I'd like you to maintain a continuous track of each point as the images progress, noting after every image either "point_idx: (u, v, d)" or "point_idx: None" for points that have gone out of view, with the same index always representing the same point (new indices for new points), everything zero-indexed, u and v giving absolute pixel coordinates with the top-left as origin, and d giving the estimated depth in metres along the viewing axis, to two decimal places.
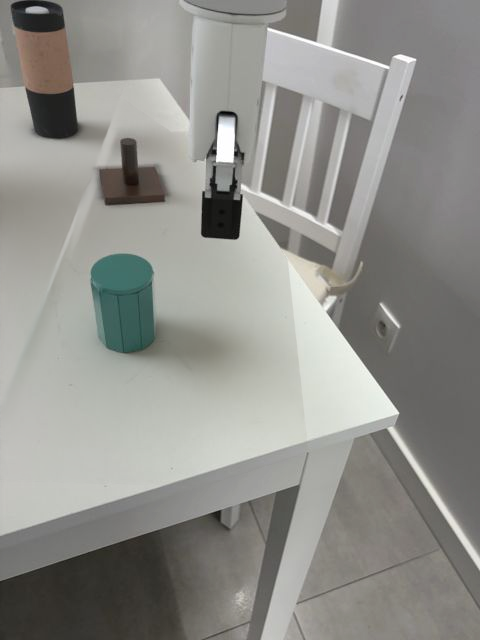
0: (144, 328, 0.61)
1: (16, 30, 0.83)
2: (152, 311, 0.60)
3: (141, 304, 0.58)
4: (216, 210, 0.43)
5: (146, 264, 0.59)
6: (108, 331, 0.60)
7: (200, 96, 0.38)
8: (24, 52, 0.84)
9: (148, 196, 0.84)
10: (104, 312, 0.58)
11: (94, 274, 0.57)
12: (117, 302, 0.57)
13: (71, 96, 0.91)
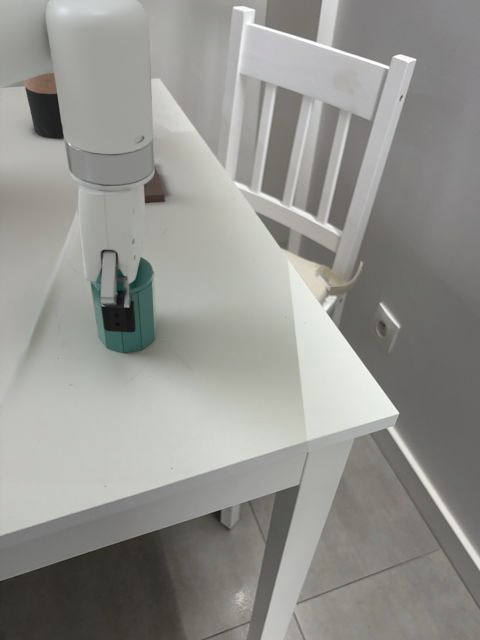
0: (144, 328, 0.61)
1: None
2: (152, 311, 0.60)
3: (141, 304, 0.58)
4: (112, 314, 0.56)
5: (146, 264, 0.59)
6: (108, 331, 0.60)
7: (86, 240, 0.49)
8: None
9: (148, 196, 0.84)
10: None
11: None
12: None
13: None
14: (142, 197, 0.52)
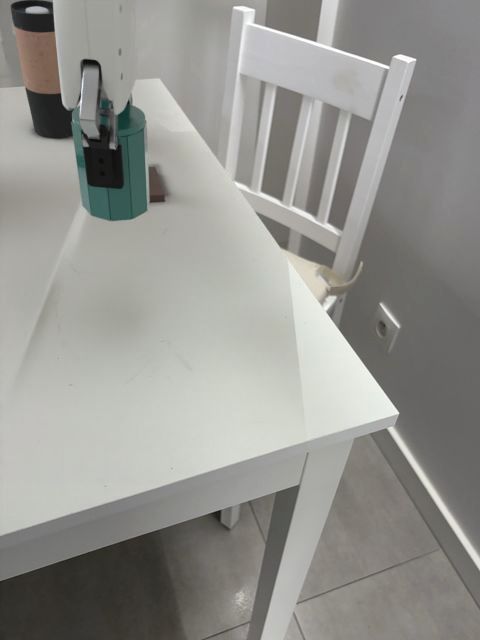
0: (134, 190, 0.52)
1: (16, 30, 0.83)
2: (144, 170, 0.52)
3: (131, 154, 0.50)
4: (95, 159, 0.47)
5: (138, 111, 0.51)
6: (92, 191, 0.52)
7: (62, 44, 0.41)
8: (24, 52, 0.84)
9: None
10: None
11: (76, 115, 0.48)
12: None
13: None
14: (132, 6, 0.44)
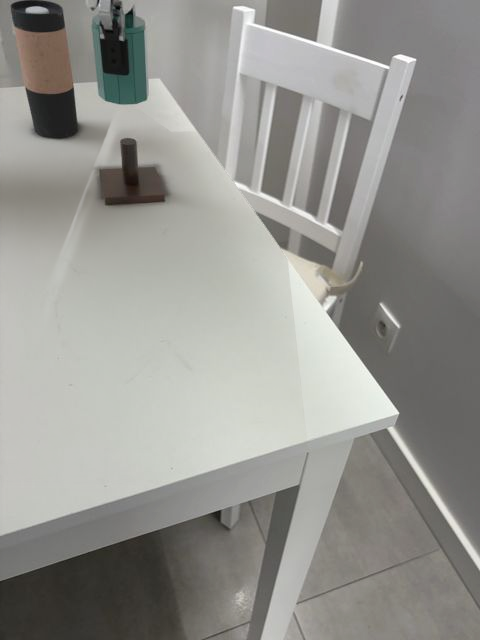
0: (137, 79, 0.71)
1: (16, 30, 0.83)
2: (144, 64, 0.70)
3: (135, 49, 0.68)
4: (109, 49, 0.66)
5: (140, 19, 0.69)
6: (106, 79, 0.70)
7: None
8: (24, 52, 0.84)
9: (148, 196, 0.84)
10: None
11: (95, 19, 0.67)
12: None
13: (71, 96, 0.91)
14: None
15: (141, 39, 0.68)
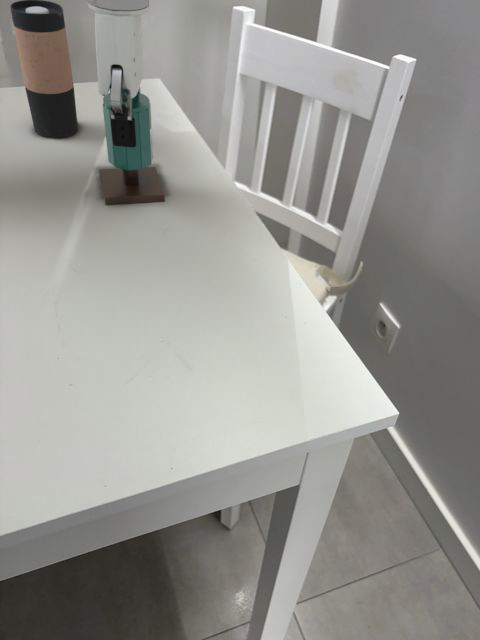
0: (143, 149, 0.80)
1: (16, 30, 0.83)
2: (149, 135, 0.80)
3: (141, 124, 0.77)
4: (118, 127, 0.75)
5: (145, 96, 0.79)
6: (116, 149, 0.79)
7: (100, 56, 0.69)
8: (24, 52, 0.84)
9: (148, 196, 0.84)
10: None
11: (105, 100, 0.76)
12: None
13: (71, 96, 0.91)
14: (140, 32, 0.71)
15: (146, 115, 0.77)
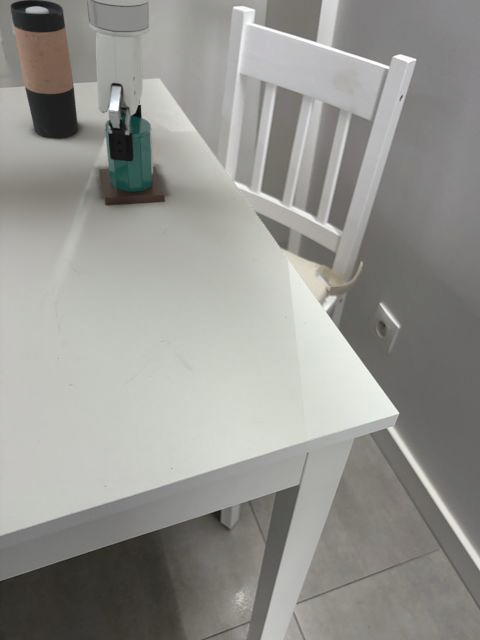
0: (144, 171, 0.83)
1: (16, 30, 0.83)
2: (150, 159, 0.82)
3: (142, 149, 0.80)
4: (116, 141, 0.75)
5: (146, 122, 0.81)
6: (118, 172, 0.82)
7: (101, 74, 0.70)
8: (24, 52, 0.84)
9: (148, 196, 0.84)
10: None
11: None
12: None
13: (71, 96, 0.91)
14: (140, 51, 0.73)
15: (147, 140, 0.80)
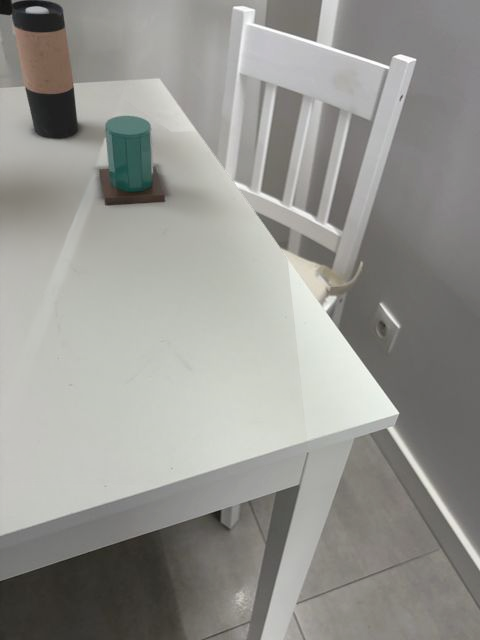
0: (144, 171, 0.83)
1: (16, 30, 0.83)
2: (150, 159, 0.82)
3: (142, 149, 0.80)
4: None
5: (146, 122, 0.81)
6: (118, 172, 0.82)
7: None
8: (24, 52, 0.84)
9: (148, 196, 0.84)
10: (115, 155, 0.80)
11: (108, 125, 0.79)
12: (125, 145, 0.79)
13: (71, 96, 0.91)
14: None
15: (147, 140, 0.80)
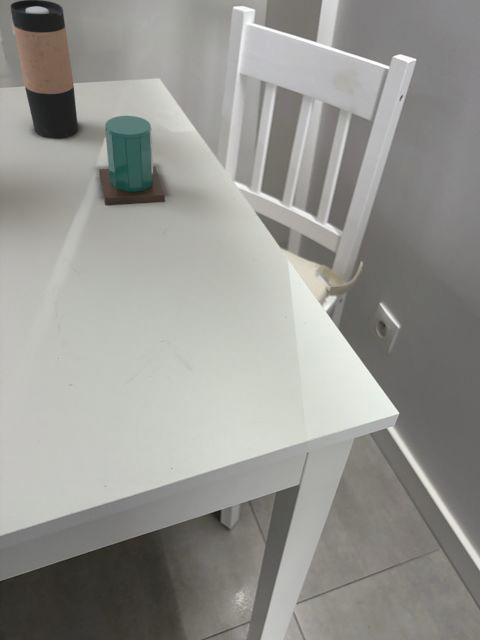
0: (144, 171, 0.83)
1: (16, 30, 0.83)
2: (150, 159, 0.82)
3: (142, 149, 0.80)
4: None
5: (146, 122, 0.81)
6: (118, 172, 0.82)
7: None
8: (24, 52, 0.84)
9: (148, 196, 0.84)
10: (115, 155, 0.80)
11: (108, 125, 0.79)
12: (125, 145, 0.79)
13: (71, 96, 0.91)
14: None
15: (147, 140, 0.80)
